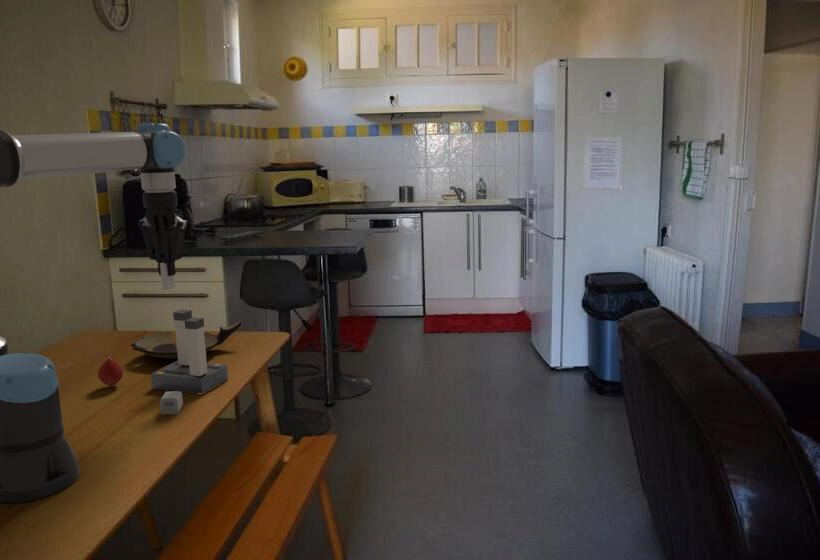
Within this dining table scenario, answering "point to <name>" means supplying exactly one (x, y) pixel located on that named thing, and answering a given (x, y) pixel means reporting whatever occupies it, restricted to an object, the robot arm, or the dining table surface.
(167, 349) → the broken bowl
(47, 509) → the dining table surface
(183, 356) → the white capped post
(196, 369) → the grey square post
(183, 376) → the console
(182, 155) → the robot arm
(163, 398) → the usb wall charger
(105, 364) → the onion
